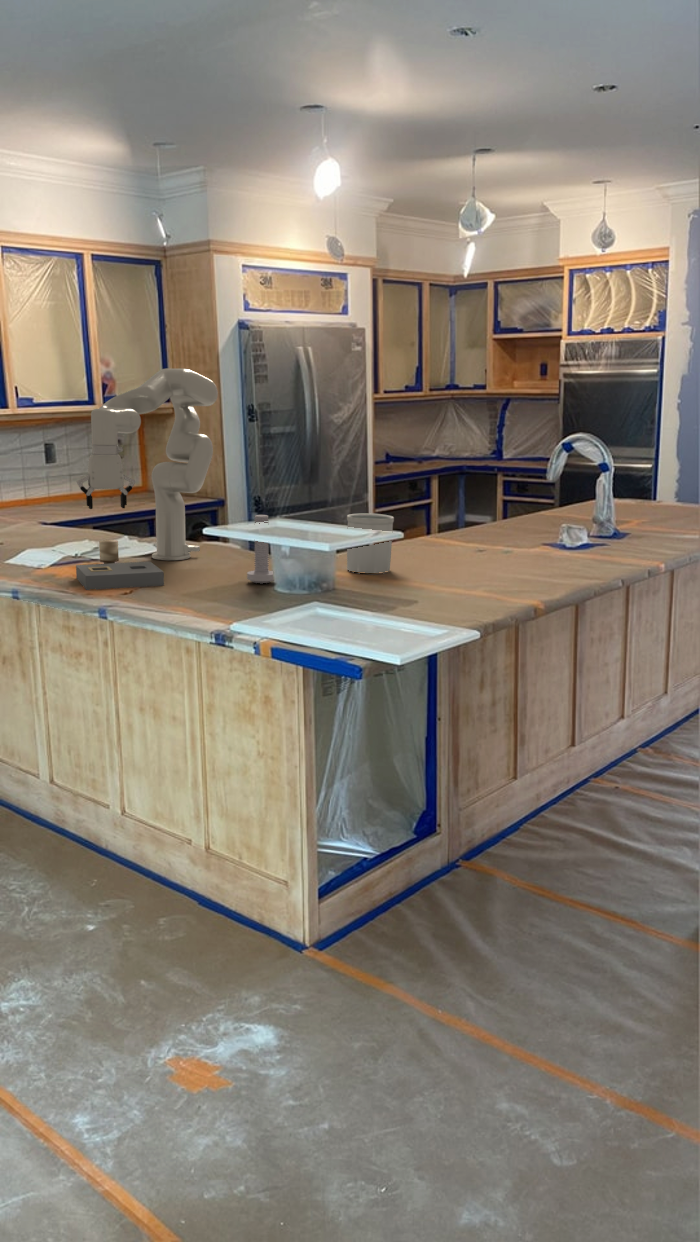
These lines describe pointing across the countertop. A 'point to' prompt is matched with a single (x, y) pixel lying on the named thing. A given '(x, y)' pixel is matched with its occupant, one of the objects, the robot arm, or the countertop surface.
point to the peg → (108, 551)
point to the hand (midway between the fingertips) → (106, 508)
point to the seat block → (119, 575)
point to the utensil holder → (373, 555)
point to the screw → (261, 559)
